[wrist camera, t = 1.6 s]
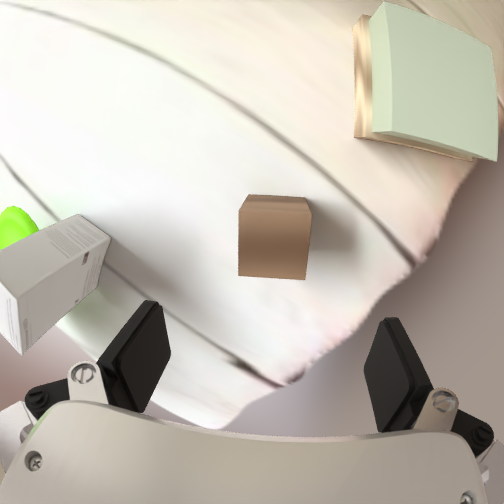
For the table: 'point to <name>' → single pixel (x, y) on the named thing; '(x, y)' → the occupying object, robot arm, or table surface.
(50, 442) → the robot arm
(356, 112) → the block bottom
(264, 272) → the walnut block
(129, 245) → the table surface
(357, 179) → the table surface
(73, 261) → the skincare box
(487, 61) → the block top
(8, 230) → the wineglass
